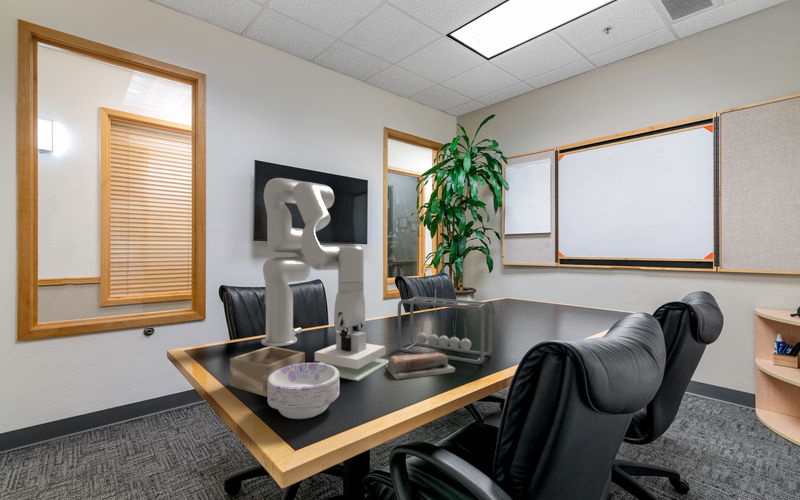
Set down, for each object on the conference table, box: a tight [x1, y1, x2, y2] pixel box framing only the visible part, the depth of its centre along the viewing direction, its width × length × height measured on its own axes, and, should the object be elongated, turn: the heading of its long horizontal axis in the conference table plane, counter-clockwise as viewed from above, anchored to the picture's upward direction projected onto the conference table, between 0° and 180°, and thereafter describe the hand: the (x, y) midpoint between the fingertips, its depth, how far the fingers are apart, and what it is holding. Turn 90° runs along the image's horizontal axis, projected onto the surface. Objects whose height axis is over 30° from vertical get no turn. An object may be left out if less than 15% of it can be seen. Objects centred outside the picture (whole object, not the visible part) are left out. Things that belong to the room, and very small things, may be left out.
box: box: [229, 346, 306, 397], centre depth 93 cm, size 13×13×7 cm
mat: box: [319, 357, 390, 382], centre depth 106 cm, size 18×18×1 cm
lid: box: [314, 329, 386, 369], centre depth 106 cm, size 15×15×8 cm
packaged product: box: [384, 352, 456, 380], centre depth 103 cm, size 18×5×10 cm
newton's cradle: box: [397, 296, 493, 365], centre depth 119 cm, size 30×10×18 cm, turn 61°
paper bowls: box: [266, 362, 341, 420], centre depth 78 cm, size 15×15×8 cm
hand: (350, 348), depth 106 cm, fingers closed on lid, 4 cm apart
